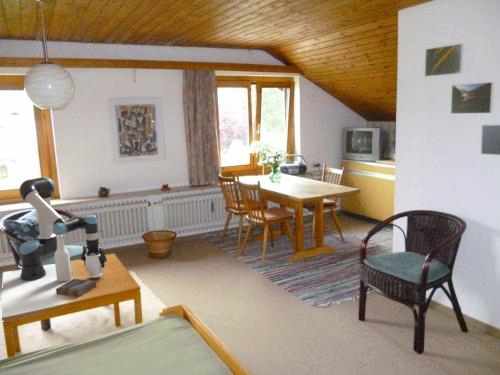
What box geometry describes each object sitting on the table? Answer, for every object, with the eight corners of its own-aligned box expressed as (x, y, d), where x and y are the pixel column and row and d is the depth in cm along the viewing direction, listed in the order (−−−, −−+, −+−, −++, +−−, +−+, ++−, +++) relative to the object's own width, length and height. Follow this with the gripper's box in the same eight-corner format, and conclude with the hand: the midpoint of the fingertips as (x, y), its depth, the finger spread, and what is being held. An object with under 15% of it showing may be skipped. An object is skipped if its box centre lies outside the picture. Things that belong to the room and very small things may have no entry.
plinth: (56, 294, 258) (56, 288, 257) (74, 284, 273) (74, 278, 272) (79, 297, 253) (78, 290, 253) (96, 286, 268) (95, 280, 268)
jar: (107, 273, 285) (105, 251, 282) (96, 279, 276) (94, 257, 273) (93, 271, 289) (92, 250, 286) (83, 277, 279) (81, 255, 276)
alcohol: (54, 280, 279) (49, 236, 274) (65, 276, 287) (60, 232, 282) (63, 283, 275) (58, 237, 270) (74, 278, 283) (70, 234, 278)
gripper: (73, 239, 277) (76, 271, 281) (104, 241, 271) (106, 275, 275) (81, 235, 284) (83, 267, 288) (111, 238, 278) (113, 270, 282)
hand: (94, 271), depth 282 cm, fingers closed on jar, 10 cm apart
